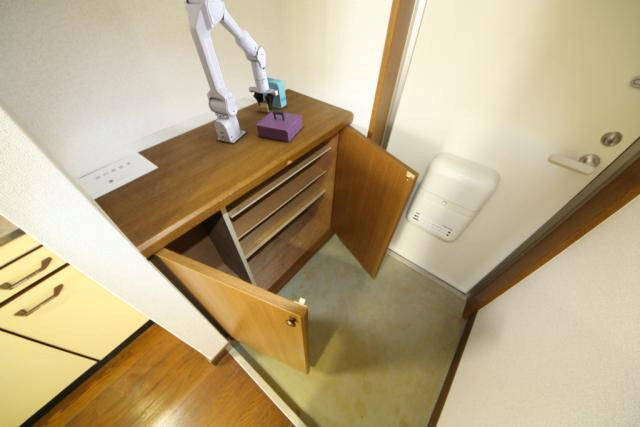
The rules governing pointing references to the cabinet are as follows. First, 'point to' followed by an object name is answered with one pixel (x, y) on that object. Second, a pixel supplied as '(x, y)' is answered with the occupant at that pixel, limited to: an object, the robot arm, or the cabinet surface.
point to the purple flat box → (280, 132)
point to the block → (264, 106)
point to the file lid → (278, 121)
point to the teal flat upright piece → (280, 99)
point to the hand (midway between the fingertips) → (266, 109)
